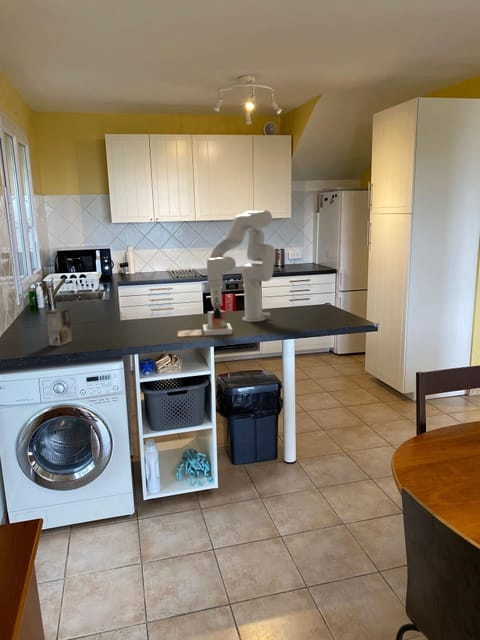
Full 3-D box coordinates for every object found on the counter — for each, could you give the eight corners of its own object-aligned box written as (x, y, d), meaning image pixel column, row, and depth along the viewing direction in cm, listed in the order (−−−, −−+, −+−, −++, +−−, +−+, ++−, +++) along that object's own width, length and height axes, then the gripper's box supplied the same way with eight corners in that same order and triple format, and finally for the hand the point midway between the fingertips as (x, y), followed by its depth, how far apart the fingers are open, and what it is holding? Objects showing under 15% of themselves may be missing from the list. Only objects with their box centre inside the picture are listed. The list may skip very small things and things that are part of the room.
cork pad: (201, 330, 250) (201, 329, 250) (202, 336, 238) (202, 334, 238) (178, 331, 249) (177, 330, 249) (177, 337, 237) (177, 336, 237)
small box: (212, 333, 243) (211, 313, 241) (207, 331, 248) (207, 311, 246) (226, 331, 246) (226, 311, 244) (222, 329, 251) (221, 309, 249)
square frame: (229, 327, 255) (229, 323, 254) (232, 333, 241) (232, 329, 240) (203, 329, 253) (202, 324, 253) (204, 335, 240) (203, 330, 239)
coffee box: (61, 340, 239) (57, 308, 235) (72, 341, 237) (69, 308, 233) (49, 345, 230) (45, 311, 227) (60, 345, 228) (56, 312, 225)
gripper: (224, 285, 234) (225, 319, 237) (221, 280, 251) (222, 313, 254) (208, 285, 233) (210, 320, 237) (207, 281, 250) (208, 313, 254)
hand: (216, 316), depth 246 cm, fingers open, 9 cm apart
